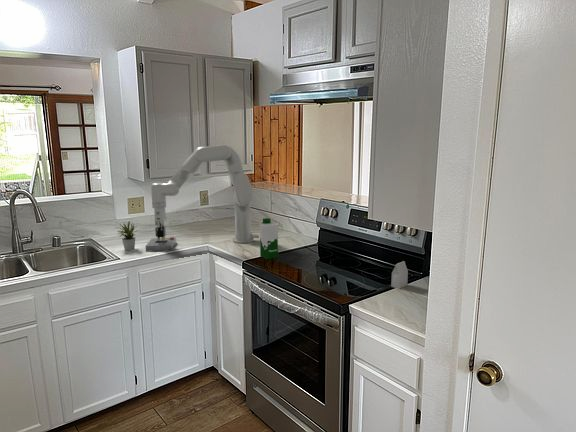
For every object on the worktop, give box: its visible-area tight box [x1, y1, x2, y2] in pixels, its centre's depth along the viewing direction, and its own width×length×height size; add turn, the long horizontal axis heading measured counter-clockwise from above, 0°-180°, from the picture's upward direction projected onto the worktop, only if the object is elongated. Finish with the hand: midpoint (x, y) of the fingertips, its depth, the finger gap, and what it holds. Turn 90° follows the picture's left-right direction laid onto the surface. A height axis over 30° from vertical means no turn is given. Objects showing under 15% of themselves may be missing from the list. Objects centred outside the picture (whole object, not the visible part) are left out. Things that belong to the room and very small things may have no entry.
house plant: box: [115, 220, 137, 251], centre depth 242 cm, size 14×14×16 cm
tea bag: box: [390, 260, 409, 289], centre depth 180 cm, size 4×7×10 cm, turn 136°
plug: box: [154, 225, 167, 241], centre depth 246 cm, size 5×4×8 cm
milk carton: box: [258, 217, 280, 260], centre depth 223 cm, size 9×9×20 cm
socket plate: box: [145, 236, 177, 252], centre depth 247 cm, size 14×18×4 cm
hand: (161, 236), depth 246 cm, fingers closed on plug, 4 cm apart
